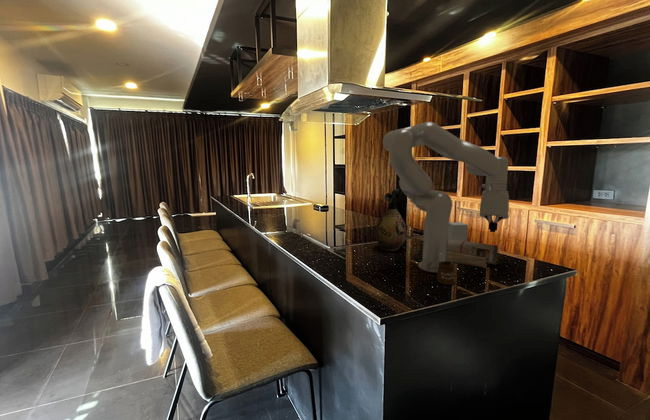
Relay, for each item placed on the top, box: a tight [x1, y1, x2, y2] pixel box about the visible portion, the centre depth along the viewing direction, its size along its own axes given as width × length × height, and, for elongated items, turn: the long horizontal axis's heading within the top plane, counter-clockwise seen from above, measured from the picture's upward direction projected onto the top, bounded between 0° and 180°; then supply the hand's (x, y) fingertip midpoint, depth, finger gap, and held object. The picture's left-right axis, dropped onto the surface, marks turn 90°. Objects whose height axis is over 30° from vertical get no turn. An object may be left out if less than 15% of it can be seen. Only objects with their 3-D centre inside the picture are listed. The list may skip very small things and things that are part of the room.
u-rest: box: [447, 252, 488, 269], centre depth 140 cm, size 13×22×4 cm, turn 54°
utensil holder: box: [436, 249, 457, 286], centre depth 113 cm, size 6×6×12 cm
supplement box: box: [448, 221, 469, 241], centre depth 157 cm, size 7×7×13 cm
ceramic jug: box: [374, 188, 408, 252], centre depth 157 cm, size 17×15×30 cm
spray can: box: [448, 240, 499, 266], centre depth 136 cm, size 8×8×20 cm
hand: (492, 231), depth 131 cm, fingers closed
